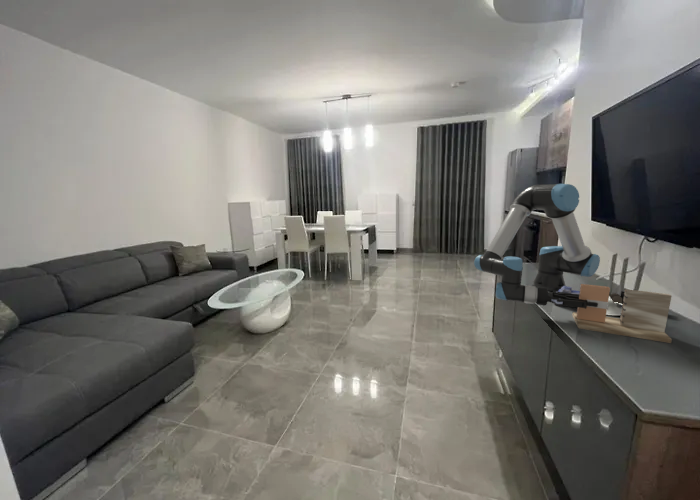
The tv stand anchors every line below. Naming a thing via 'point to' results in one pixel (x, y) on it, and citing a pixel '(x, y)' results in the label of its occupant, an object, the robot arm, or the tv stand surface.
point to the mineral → (568, 290)
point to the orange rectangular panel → (593, 294)
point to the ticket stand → (636, 317)
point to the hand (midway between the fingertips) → (606, 304)
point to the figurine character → (617, 297)
